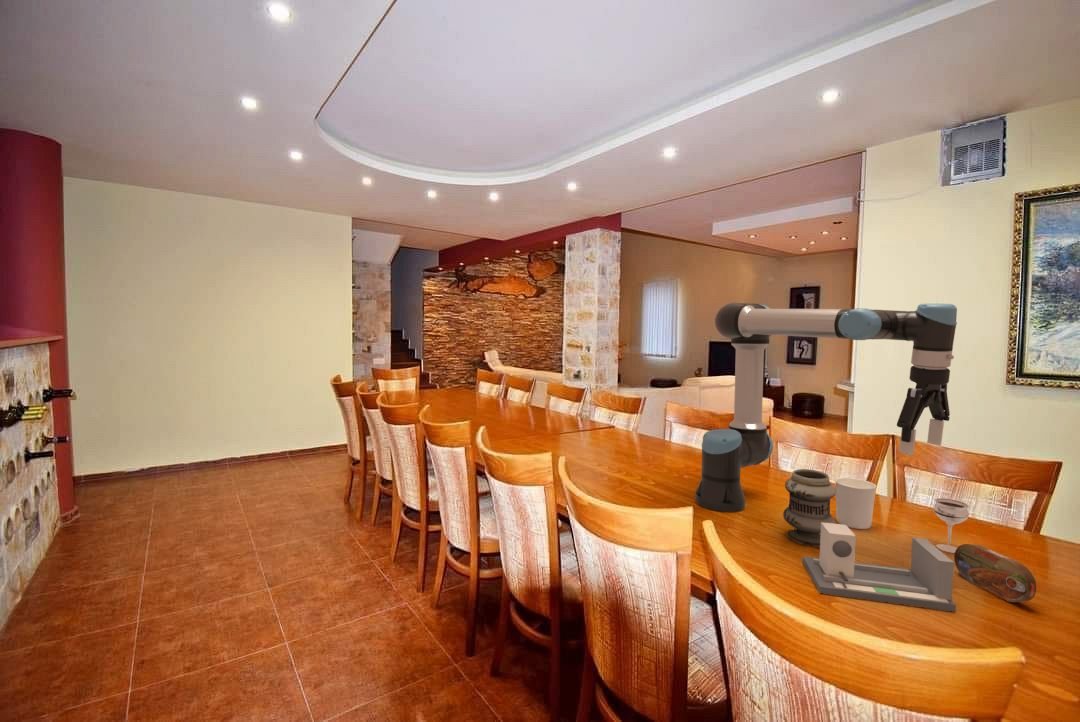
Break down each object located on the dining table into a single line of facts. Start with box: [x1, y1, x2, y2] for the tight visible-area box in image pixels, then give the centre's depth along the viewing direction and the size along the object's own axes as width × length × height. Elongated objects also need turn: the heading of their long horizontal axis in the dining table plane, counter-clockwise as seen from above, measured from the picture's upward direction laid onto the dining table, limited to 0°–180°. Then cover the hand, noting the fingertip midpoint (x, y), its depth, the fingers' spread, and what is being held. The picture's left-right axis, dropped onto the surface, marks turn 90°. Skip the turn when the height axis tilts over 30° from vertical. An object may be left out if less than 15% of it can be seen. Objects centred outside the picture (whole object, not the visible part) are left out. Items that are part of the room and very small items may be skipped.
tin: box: [953, 543, 1037, 603], centre depth 101 cm, size 15×3×8 cm, turn 5°
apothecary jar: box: [782, 468, 836, 548], centre depth 125 cm, size 12×12×18 cm
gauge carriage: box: [819, 522, 857, 581], centre depth 103 cm, size 5×9×10 cm, turn 164°
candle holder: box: [834, 477, 877, 530], centre depth 135 cm, size 10×10×12 cm
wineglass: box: [933, 497, 970, 554], centre depth 120 cm, size 7×7×12 cm
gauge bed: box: [801, 537, 957, 613], centre depth 103 cm, size 24×14×10 cm, turn 74°
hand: (920, 448), depth 119 cm, fingers open, 13 cm apart
